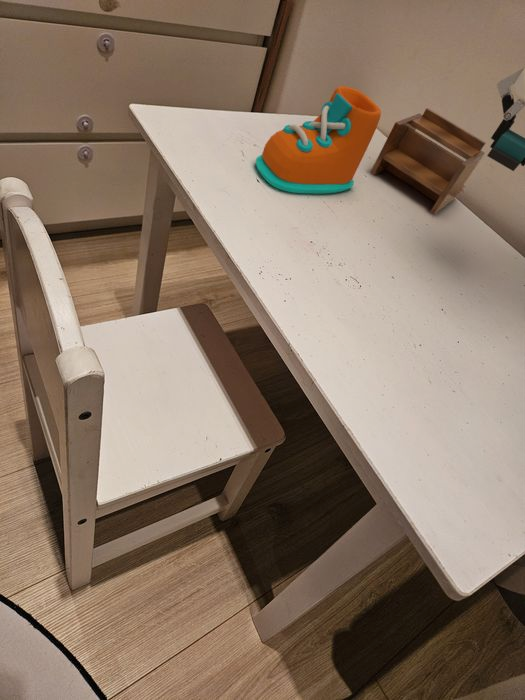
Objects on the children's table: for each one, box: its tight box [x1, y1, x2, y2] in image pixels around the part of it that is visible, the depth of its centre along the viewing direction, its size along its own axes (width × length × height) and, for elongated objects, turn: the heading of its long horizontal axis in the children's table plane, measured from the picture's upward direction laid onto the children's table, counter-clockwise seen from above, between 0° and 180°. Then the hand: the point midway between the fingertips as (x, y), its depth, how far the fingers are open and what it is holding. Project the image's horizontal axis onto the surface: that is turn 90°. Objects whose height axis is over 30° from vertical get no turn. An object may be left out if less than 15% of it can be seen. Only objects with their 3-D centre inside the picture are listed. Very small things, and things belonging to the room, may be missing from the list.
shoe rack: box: [369, 107, 487, 216], centre depth 94 cm, size 16×12×13 cm
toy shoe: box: [255, 85, 382, 195], centre depth 82 cm, size 12×20×15 cm, turn 117°
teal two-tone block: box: [486, 129, 525, 172], centre depth 70 cm, size 10×4×3 cm, turn 144°
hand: (509, 153), depth 70 cm, fingers closed on teal two-tone block, 4 cm apart
